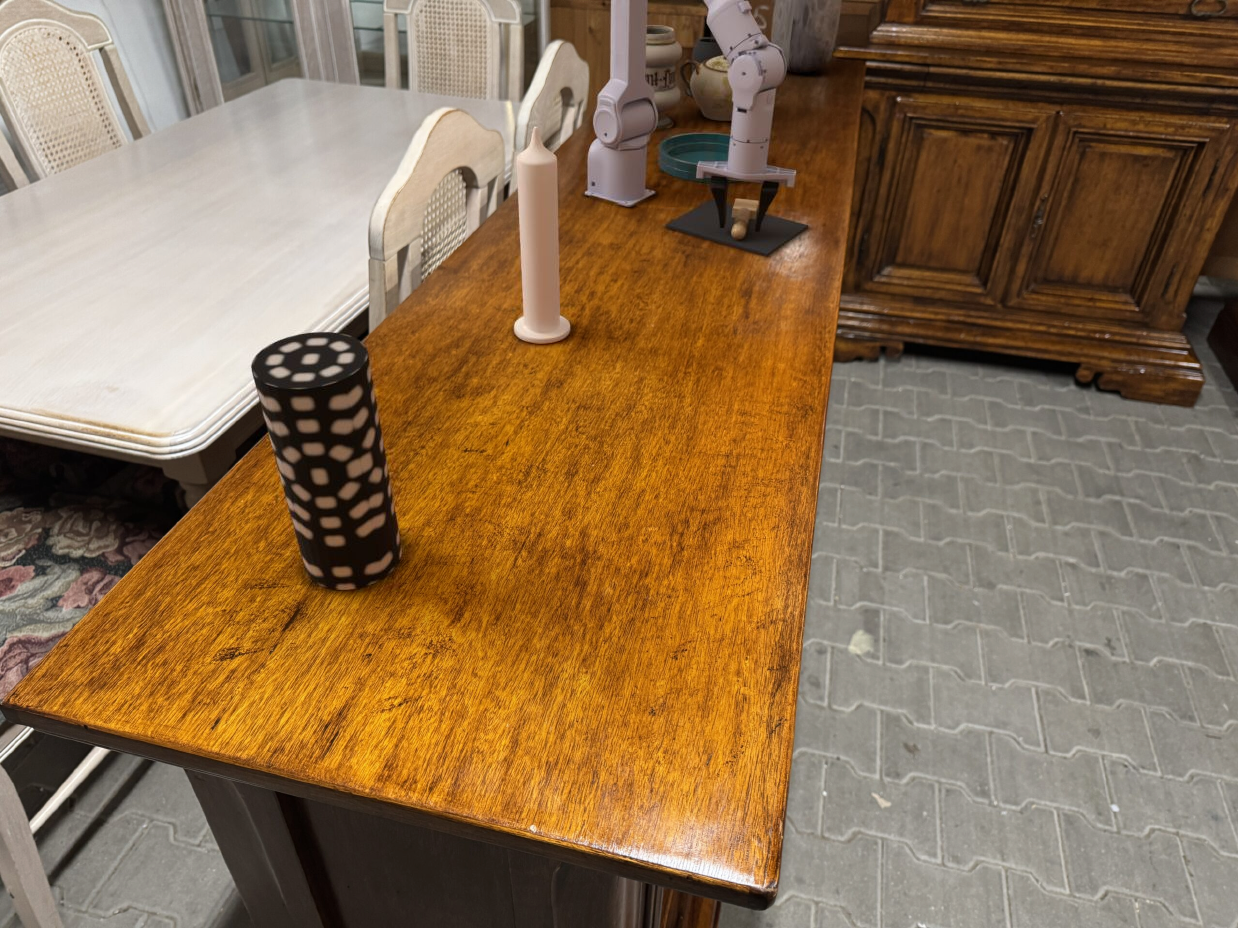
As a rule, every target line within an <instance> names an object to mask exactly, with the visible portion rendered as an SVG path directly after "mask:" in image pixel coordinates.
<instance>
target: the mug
mask: <svg viewBox="0 0 1238 928" xmlns="http://www.w3.org/2000/svg"><path fill="white" fill-rule="evenodd" d="M718 56H723V53H722V50H721V48H720V46H719V45H718V43H717V41H716V39H715V37H707V36H706V37H705V36H704V37H700V38H698V39H697V41H696V44H695V45H694V47H693V48H692V58H691V60H694V61H696V62H699V63H701V64H702V62H703V61H705V60H707V59H712V58H714V57H718ZM694 71H695V67H694V66H693V65H691V75H692V74H693V72H694ZM686 88H687V89H686V94H688V95H690V96H692V95H691V94H690V92H689V89H688V87H686Z"/></svg>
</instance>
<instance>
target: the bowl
mask: <svg viewBox="0 0 1238 928" xmlns="http://www.w3.org/2000/svg"><path fill="white" fill-rule="evenodd" d="M730 136H731V134H728V133H722V132H721V133H720V132H689V133H680V134H677V135H673V136H672V135H671V136H669V137H667V138H665V139H663V140H662V141H661V142H660V143H659V144H658V153H657V166H658V167H659V169H660V170H661V171H662V172H664V173H666V174H667V175H669V176H672V177H675V178H677V179H682V180H685V181H690V182H695V183H696V182H697V183H705V184H710V183H711V178H707V177H704V178H703V179H701V178H696V175H697V165H698V163H699V161H702V162H728V155H729V145H730ZM738 182H740V181H738V180H729V184H731V183H732V184H733V183H738Z"/></svg>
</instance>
